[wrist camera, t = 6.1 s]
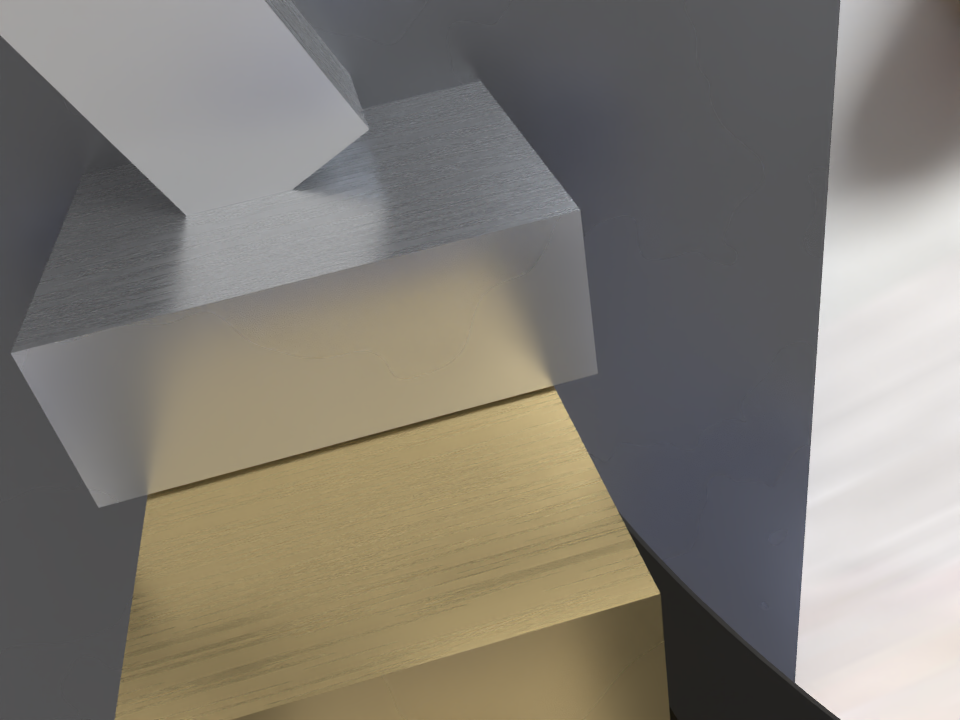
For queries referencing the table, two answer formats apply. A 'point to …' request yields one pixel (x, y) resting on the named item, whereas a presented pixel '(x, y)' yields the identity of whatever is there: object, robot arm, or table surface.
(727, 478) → the shaft base
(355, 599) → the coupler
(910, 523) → the table surface
